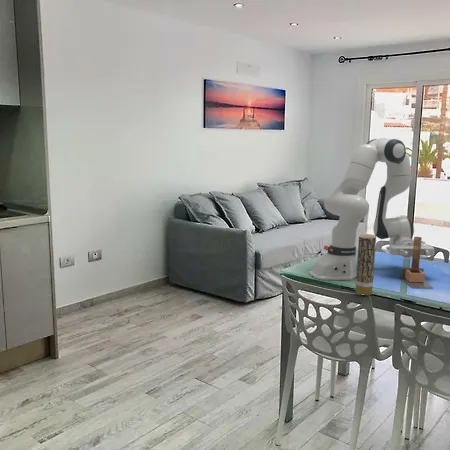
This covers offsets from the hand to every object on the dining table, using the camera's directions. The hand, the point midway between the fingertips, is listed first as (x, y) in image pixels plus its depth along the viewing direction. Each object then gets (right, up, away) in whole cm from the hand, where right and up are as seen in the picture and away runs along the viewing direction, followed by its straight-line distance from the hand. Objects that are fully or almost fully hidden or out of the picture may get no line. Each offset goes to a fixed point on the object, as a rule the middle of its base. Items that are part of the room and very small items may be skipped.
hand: (416, 254), depth 229 cm
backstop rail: (0, -13, 0) cm, 13 cm away
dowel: (0, -12, +3) cm, 13 cm away
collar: (0, -13, +2) cm, 13 cm away
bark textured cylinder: (-29, -16, -18) cm, 38 cm away
